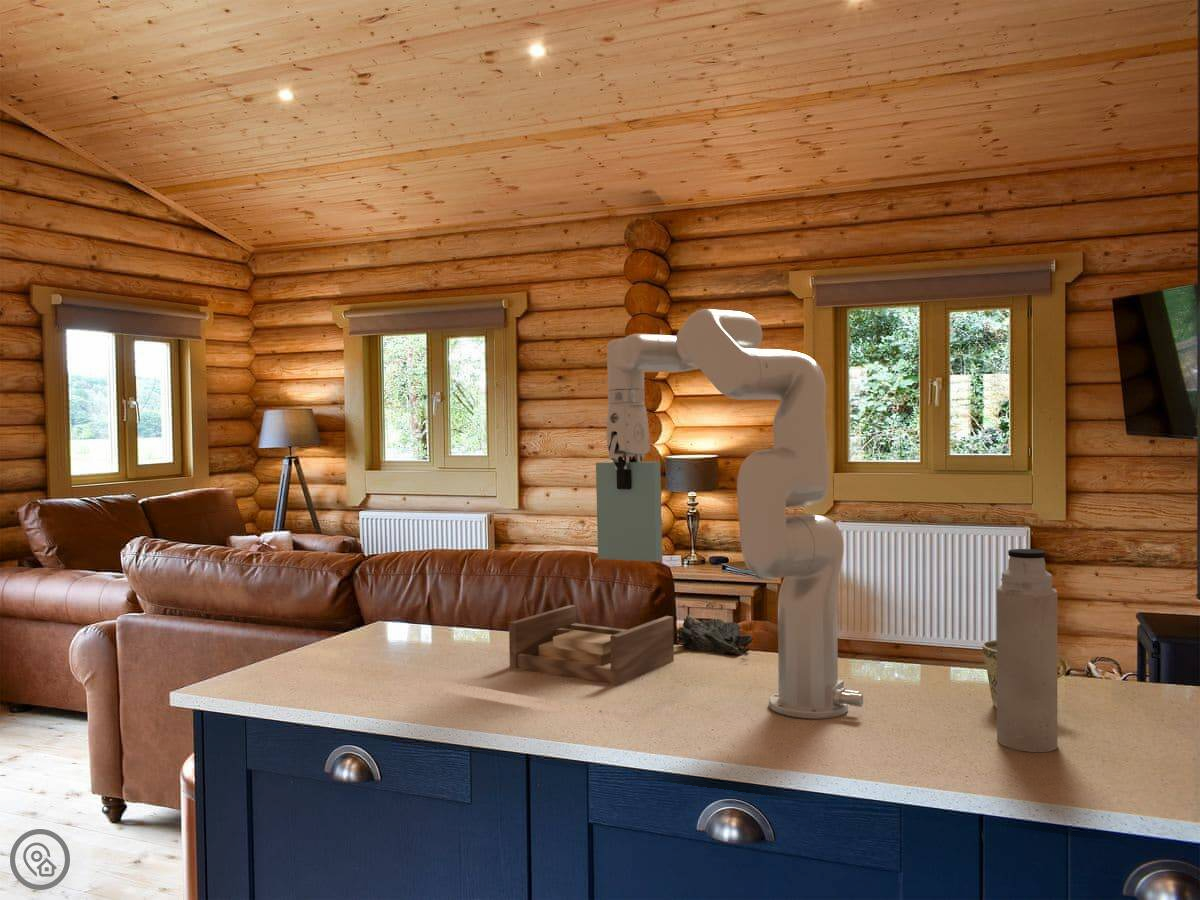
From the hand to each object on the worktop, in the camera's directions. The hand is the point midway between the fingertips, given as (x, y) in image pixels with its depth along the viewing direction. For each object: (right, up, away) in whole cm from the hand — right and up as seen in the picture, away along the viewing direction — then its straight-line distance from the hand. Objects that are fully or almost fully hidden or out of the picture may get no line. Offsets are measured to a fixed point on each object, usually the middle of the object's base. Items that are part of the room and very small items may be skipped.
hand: (628, 487), depth 194 cm
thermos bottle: (+56, -35, -58) cm, 88 cm away
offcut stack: (-9, -33, -18) cm, 38 cm away
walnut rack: (-7, -34, -16) cm, 38 cm away
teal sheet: (0, -15, 0) cm, 15 cm away
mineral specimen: (+17, -34, -4) cm, 38 cm away
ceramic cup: (+63, -34, -42) cm, 83 cm away
